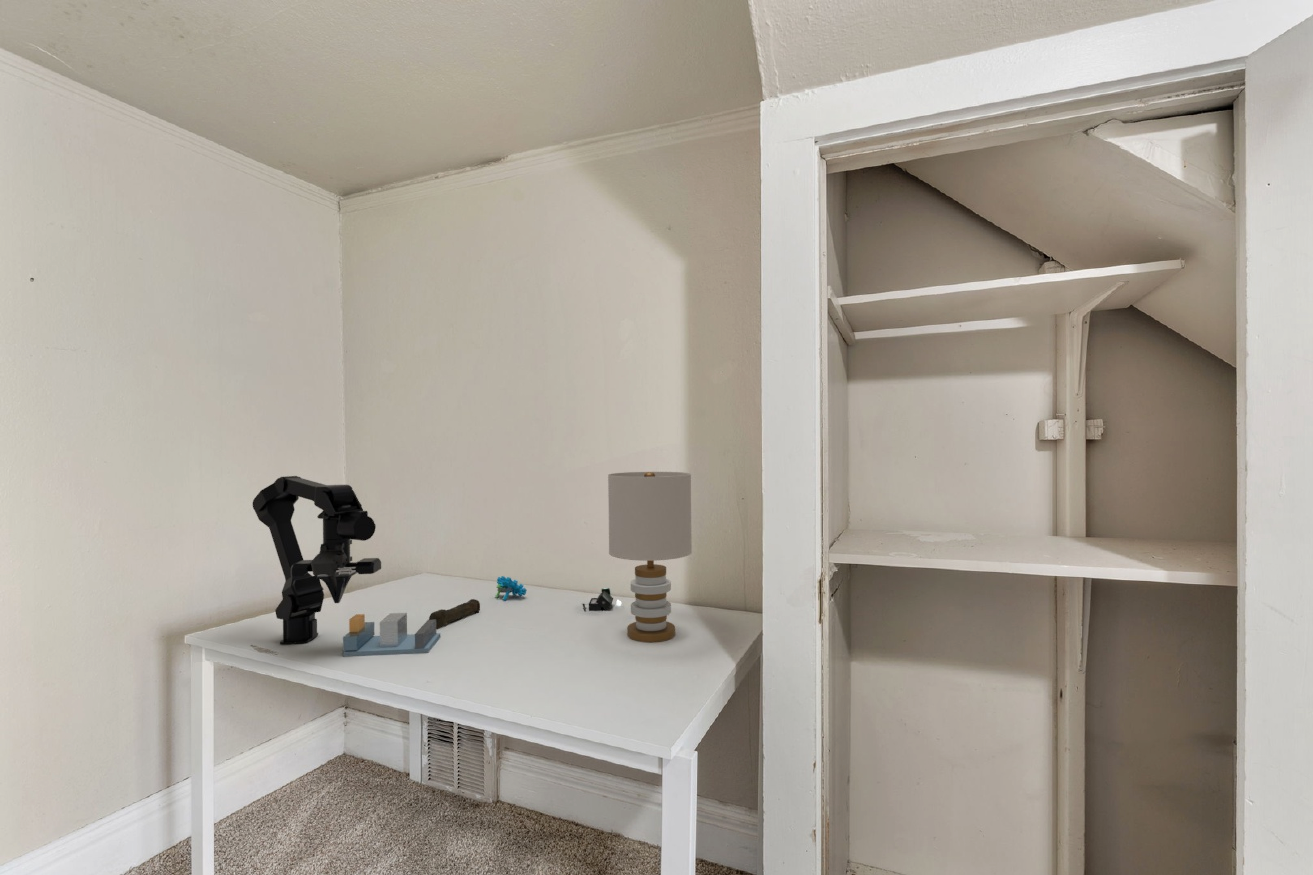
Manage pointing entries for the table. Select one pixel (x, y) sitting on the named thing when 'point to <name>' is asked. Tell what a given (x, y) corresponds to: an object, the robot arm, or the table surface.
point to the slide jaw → (358, 633)
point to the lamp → (650, 541)
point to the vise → (412, 644)
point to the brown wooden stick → (454, 613)
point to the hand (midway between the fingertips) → (337, 602)
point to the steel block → (393, 630)
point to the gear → (509, 587)
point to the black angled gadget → (601, 601)
